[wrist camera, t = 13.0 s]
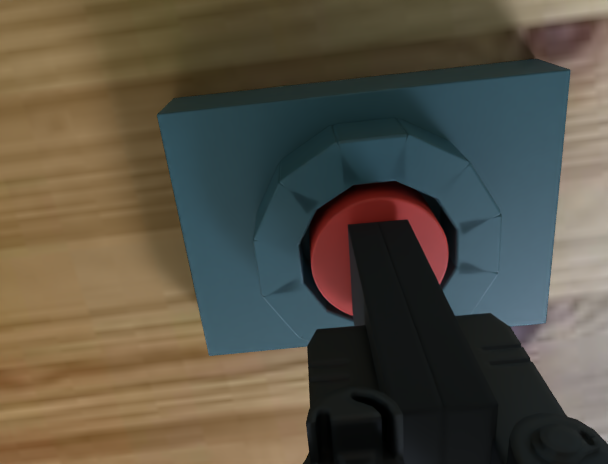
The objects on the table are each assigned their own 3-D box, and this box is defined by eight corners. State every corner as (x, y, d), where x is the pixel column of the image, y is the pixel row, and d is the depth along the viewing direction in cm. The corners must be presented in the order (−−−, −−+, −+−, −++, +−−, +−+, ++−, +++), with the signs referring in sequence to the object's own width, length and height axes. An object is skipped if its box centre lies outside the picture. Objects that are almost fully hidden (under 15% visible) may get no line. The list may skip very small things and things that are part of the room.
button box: (537, 58, 16) (607, 80, 13) (520, 288, 20) (572, 358, 16) (172, 98, 17) (138, 131, 13) (216, 318, 20) (200, 394, 16)
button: (433, 168, 15) (450, 190, 13) (433, 281, 17) (449, 313, 15) (302, 181, 15) (304, 205, 14) (315, 293, 17) (317, 326, 15)
